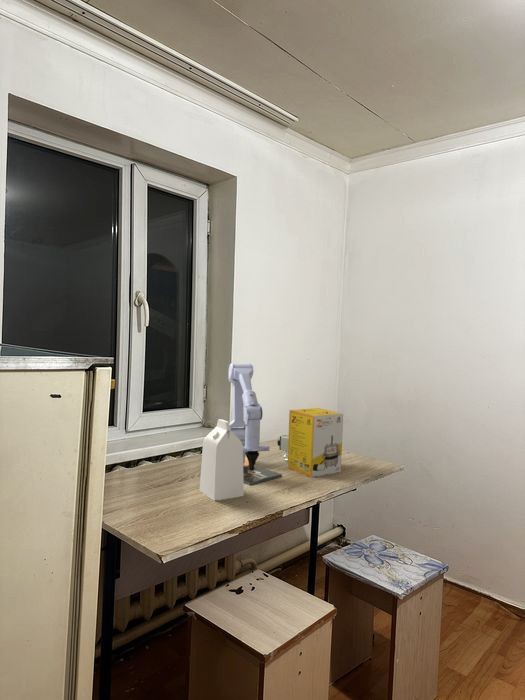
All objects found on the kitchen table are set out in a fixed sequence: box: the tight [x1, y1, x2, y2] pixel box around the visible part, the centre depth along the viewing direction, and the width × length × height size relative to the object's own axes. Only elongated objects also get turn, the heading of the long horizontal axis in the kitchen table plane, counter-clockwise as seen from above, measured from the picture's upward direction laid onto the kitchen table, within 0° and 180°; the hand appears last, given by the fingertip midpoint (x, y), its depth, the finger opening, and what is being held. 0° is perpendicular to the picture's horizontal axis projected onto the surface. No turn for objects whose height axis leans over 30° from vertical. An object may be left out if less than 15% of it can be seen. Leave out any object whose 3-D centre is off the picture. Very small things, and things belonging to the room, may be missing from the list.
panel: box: [243, 464, 283, 486], centre depth 192 cm, size 20×18×2 cm
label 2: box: [253, 474, 268, 479], centre depth 186 cm, size 5×4×1 cm
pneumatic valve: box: [276, 434, 289, 462], centre depth 216 cm, size 6×12×12 cm, turn 51°
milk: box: [198, 418, 245, 502], centre depth 168 cm, size 12×12×26 cm
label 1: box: [248, 470, 261, 475], centre depth 191 cm, size 5×4×1 cm
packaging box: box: [286, 407, 344, 478], centre depth 202 cm, size 16×16×25 cm
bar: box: [243, 456, 249, 474], centre depth 193 cm, size 16×4×3 cm, turn 174°
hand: (251, 470), depth 188 cm, fingers closed
